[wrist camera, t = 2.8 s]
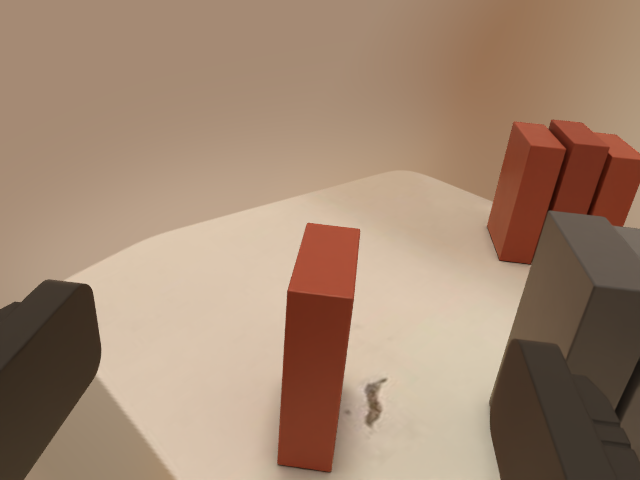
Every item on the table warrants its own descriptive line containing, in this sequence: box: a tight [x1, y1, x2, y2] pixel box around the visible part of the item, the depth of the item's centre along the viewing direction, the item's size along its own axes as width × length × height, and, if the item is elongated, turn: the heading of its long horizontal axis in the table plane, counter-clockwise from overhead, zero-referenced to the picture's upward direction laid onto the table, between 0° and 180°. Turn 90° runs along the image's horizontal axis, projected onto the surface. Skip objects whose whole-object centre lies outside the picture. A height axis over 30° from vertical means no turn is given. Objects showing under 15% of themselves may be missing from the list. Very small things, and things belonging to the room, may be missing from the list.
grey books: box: [489, 211, 640, 461], centre depth 25 cm, size 9×6×12 cm
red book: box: [277, 223, 360, 472], centre depth 26 cm, size 3×6×10 cm, turn 174°
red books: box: [487, 120, 640, 264], centre depth 45 cm, size 9×6×10 cm
